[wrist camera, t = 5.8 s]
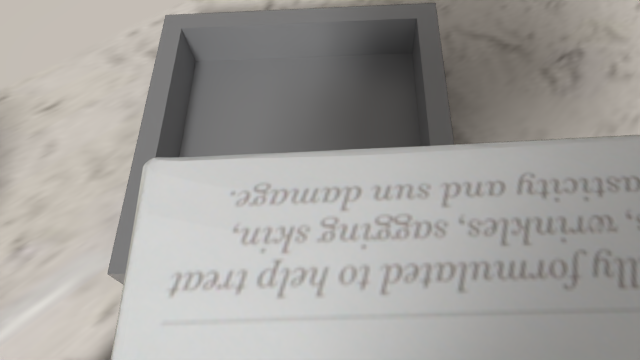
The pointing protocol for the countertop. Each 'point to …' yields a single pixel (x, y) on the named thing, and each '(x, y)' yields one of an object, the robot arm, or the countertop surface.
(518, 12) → the countertop surface
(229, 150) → the tray
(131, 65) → the countertop surface
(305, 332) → the skincare box
